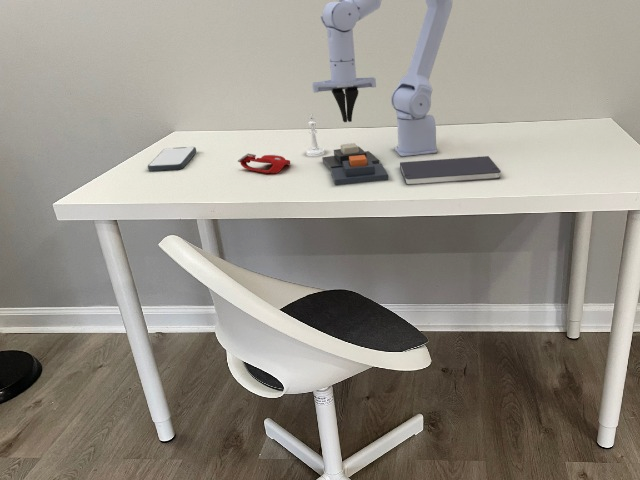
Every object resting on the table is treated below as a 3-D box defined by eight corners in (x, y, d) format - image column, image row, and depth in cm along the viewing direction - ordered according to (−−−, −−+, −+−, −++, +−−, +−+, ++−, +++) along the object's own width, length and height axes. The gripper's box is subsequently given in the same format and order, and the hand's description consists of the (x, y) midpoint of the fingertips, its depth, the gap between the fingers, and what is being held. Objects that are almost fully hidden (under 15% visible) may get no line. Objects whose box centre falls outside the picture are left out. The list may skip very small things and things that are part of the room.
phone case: (183, 170, 154) (198, 152, 168) (181, 164, 154) (197, 146, 167) (147, 172, 154) (165, 153, 168) (145, 166, 153) (164, 147, 167)
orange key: (365, 162, 143) (364, 154, 143) (367, 166, 140) (366, 159, 140) (349, 163, 143) (348, 156, 142) (351, 168, 140) (350, 160, 139)
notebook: (488, 162, 149) (400, 168, 147) (488, 155, 148) (399, 162, 147) (501, 178, 138) (405, 185, 136) (501, 171, 137) (405, 178, 136)
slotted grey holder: (381, 169, 148) (380, 155, 146) (388, 180, 140) (387, 166, 138) (331, 174, 146) (330, 160, 144) (335, 185, 138) (333, 171, 137)
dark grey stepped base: (369, 156, 158) (368, 143, 156) (379, 165, 150) (378, 152, 149) (322, 162, 155) (321, 149, 153) (331, 172, 147) (329, 159, 146)
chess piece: (321, 156, 160) (317, 116, 155) (303, 156, 161) (298, 116, 156) (327, 151, 164) (323, 112, 159) (309, 150, 165) (305, 112, 160)
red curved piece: (285, 156, 157) (296, 155, 148) (285, 174, 158) (295, 174, 149) (236, 152, 152) (244, 151, 143) (236, 170, 152) (244, 171, 144)
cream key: (355, 150, 153) (354, 143, 152) (359, 153, 150) (358, 146, 149) (340, 151, 152) (340, 144, 151) (344, 155, 149) (343, 148, 148)
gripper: (370, 55, 146) (373, 114, 152) (308, 60, 143) (314, 120, 149) (376, 59, 140) (379, 120, 146) (312, 64, 137) (318, 127, 143)
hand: (347, 121), depth 147 cm, fingers closed
